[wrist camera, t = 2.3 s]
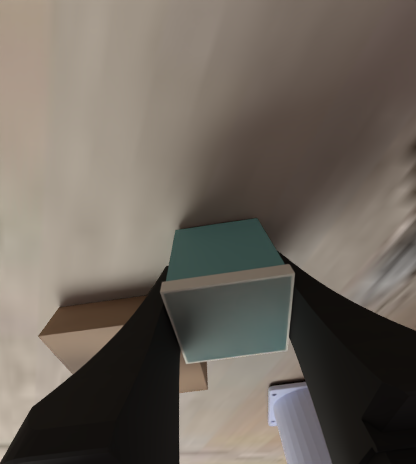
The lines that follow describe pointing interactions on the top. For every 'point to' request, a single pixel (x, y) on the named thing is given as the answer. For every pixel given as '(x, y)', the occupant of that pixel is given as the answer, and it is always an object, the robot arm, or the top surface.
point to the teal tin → (228, 292)
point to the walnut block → (104, 337)
